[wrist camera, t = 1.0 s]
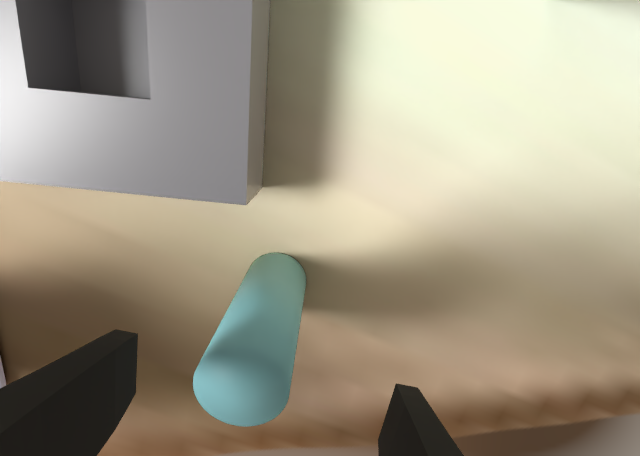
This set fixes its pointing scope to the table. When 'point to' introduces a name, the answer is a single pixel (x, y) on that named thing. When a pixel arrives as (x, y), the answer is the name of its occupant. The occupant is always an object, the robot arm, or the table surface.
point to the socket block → (135, 96)
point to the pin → (254, 345)
